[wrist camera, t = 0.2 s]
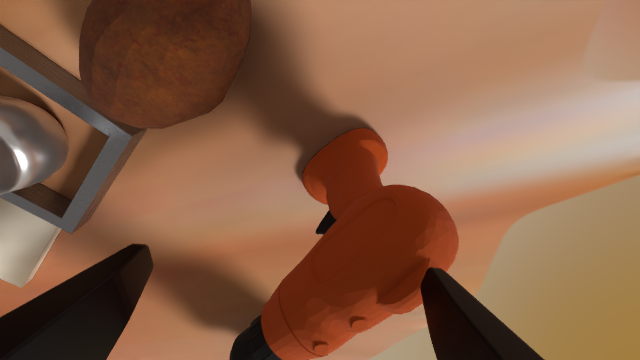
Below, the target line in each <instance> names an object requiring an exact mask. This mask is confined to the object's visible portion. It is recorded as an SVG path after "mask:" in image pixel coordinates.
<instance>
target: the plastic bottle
mask: <svg viewBox="0 0 640 360" xmlns="http://www.w3.org/2000/svg"><path fill="white" fill-rule="evenodd" d="M68 151H69V142H68V139H67V135H66V133H65V131H64V129H63V128H62V127H61V125H60V124H59V123H58V121H57V120H56V119H55V118H54V117H53V116H51V115H50V114H49V113H48V112H47V111H45V110H43V109H42V108H40V107H38V106H36V105H34V104H32V103H29V102H27V101H24V100H21V99H18V98H14V97H8V96H0V195H1V194H4V193H8V192H12V191H15V190H19V189H23V188H26V187H28V186H31V185H34V184H37V183H39V182H42V181H44V180H46V179H47V178H49V177H50V176H51V175H53V174H54V173H55V172H56V171H58V170H59V169H60V168H61V167H62V166H63V165H64V163H65V161H66V159H67V155H68Z"/></svg>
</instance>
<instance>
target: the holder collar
mask: <svg viewBox="0 0 640 360" xmlns="http://www.w3.org/2000/svg"><path fill="white" fill-rule="evenodd" d="M0 66H2V67H3V68H5V69H6V70H8V71H9V72H11V73H12V74H14V75H15V76H17V77H18V78H20V79H21V80H23V81H25V82H26V83H28V84H29V85H31V86H32V87H34V88H35V89H37V90H38V91H40V92H41V93H43V94H44V95H46V96H47V97H49V98H50V99H52V100H53V101H55V102H57V103H58V104H60V105H61V106H63V107H64V108H66V109H67V110H69V111H70V112H72V113H73V114H75V115H76V116H78V117H79V118H81V119H82V120H84V121H85V122H87V123H89V124H90V125H92V126H93V127H95V128H96V129H98V130H99V131H101V132H102V133H104V134H105V135H107V136H108V137H109V138H108V140H107V142H106V144H105V145H104V147H103V149H102V150H101V152H100V154H99V156H98V157H97V159H96V161H95V162H94V164H93V166H92V168H91V169H90V171H89V173H88V175H87V176H86V178H85V180H84V181H83V183H82V185H81V187H80V188H79V190H78V192H77V193H76V195H75V197H74V199H73V200H72V201H71V200H69V199H67V198H65V197H64V196H62V195H60V194H58V193H56V192H54V191H53V190H51V189H49V188H47V187H45V186H44V185H42V184H40V183H37V184H34V185H31V186H28V187H26V188H23V189H19V190H15V191H12V192H8V193H4V194H1V195H0V198H2V199H4V200H6V201H8V202H10V203H12V204H14V205H16V206H18V207H20V208H22V209H24V210H25V211H27V212H29V213H31V214H33V215H35V216H37V217H39V218H41V219H43V220H45V221H47V222H49V223H51V224H53V225H55V226H57V227H59V228H61V229H63V230H65V231H67V232H68V233H70V234H72V233H73V232H74V231H76V230H77V229H78V228H79V227H81V226H82V225H83V224H84V223H86V222H87V221H88V220H89V219H90V217H91V216H92V214H93V212H94V211H95V209H96V208H97V206H98V205H99V203H100V201H101V200H102V198H103V197H104V195H105V194H106V192H107V191H108V189H109V187H110V186H111V184H112V183H113V181H114V180H115V178H116V177H117V175H118V173H119V172H120V170H121V169H122V167H123V166H124V164H125V162H126V161H127V159H128V158H129V156H130V155H131V153H132V152H133V150H134V148H135V147H136V145H137V144H138V142H139V141H140V139H141V138H142V136H143V134H144V133H145V131H146V130H147V128H137V127H134V126H130V125H128V124H125V123H122V122H119V121H117V120H114V119H112V118H110V117H108V116H107V115H106V114H104V113H103V112H102V111H101V110H100V109H98V108H97V107H96V106H95V105H94V104H93V103H92V101H91V100H90V99H89V97H88V96H87V94H86V92H85V89H84V87H83V85H82V82H81V81H80V80H78V79H77V78H75V77H74V76H72V75H71V74H70V73H68V72H67V71H65V70H64V69H62V68H61V67H60V66H58V65H57V64H55V63H54V62H52V61H51V60H50V59H48V58H47V57H45V56H44V55H42V54H41V53H40V52H38V51H37V50H35V49H34V48H32V47H31V46H30V45H28V44H27V43H25V42H24V41H22V40H21V39H20V38H18V37H17V36H15V35H14V34H12V33H11V32H10V31H8V30H7V29H5V28H4V27H2V26H1V25H0Z"/></svg>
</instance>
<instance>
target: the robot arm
mask: <svg viewBox="0 0 640 360" xmlns="http://www.w3.org/2000/svg"><path fill="white" fill-rule="evenodd" d="M152 269H153V261H152V257H151V253H150V250H149V247H148V246H147V245H145V244H131V245H129V246H127V247H126V248H124V249H122V250H120V251H118V252H117V253H115V254H113V255H111V256H109V257H108V258H106V259H104V260H102V261H100V262H99V263H97V264H95V265H93V266H91V267H90V268H88V269H86V270H84V271H82V272H81V273H79V274H77V275H75V276H73V277H72V278H70V279H68V280H66V281H65V282H63V283H61V284H59V285H57V286H56V287H54V288H52V289H50V290H48V291H47V292H45V293H43V294H41V295H39V296H38V297H36V298H34V299H32V300H30V301H29V302H27V303H25V304H23V305H21V306H20V307H18V308H16V309H14V310H12V311H11V312H9V313H7V314H5V315H3V316H2V317H0V360H106V359H107V357H108V356H109V354H110V352H111V350H112V349H113V347H114V345H115V344H116V342H117V340H118V338H119V337H120V335H121V333H122V332H123V330H124V328H125V326H126V325H127V323H128V321H129V319H130V317H131V315H132V313H133V311H134V309H135V307H136V305H137V302H138V300H139V298H140V296H141V294H142V292H143V289H144V287H145V285H146V283H147V281H148V278H149V276H150V274H151V272H152ZM420 290H421V295H422V300H423V305H424V310H425V314H426V319H427V324H428V329H429V333H430V337H431V341H432V344H433V347H434V351H435V354H436V357H437V360H544V359H543V358H542V357H541V356H540V355H539V354H537V353H536V352H535V351H534V350H533V349H532V348H531V347H530V346H528V345H527V344H526V343H525V342H524V341H523V340H522V339H521V338H520V337H518V336H517V335H516V334H515V333H514V332H513V331H512V330H510V329H509V328H508V327H507V326H506V325H505V324H504V323H503V322H501V321H500V320H499V319H498V318H497V317H496V316H495V315H494V314H493V313H491V312H490V311H489V310H488V309H487V308H486V307H485V306H483V305H482V304H481V303H480V302H479V301H478V300H477V299H476V298H475V297H473V296H472V295H471V294H470V293H469V292H468V291H467V290H466V289H465V288H463V287H462V286H461V285H460V284H459V283H458V282H457V281H456V280H454V279H453V278H452V277H451V276H450V275H449V274H448V273H447V272H445V271H444V270H443V269H441V268H435V267H429V268H428V269H427V271H426V273H425V275H424V278H423V280H422V282H421V286H420ZM308 360H309V359H308Z"/></svg>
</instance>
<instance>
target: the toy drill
mask: <svg viewBox="0 0 640 360" xmlns="http://www.w3.org/2000/svg"><path fill="white" fill-rule="evenodd" d="M387 161H388V152H387V148H386V145H385V143H384V142H383V140H382V139H381V137H380V136H379V135H378V134H377V133H376V132H374V131H372V130H370V129H366V128H357V129H354V130H351V131H348V132H346V133H344V134H343V135H341V136H339V137H337V138H336V139H334V140H333V141H331V142H330V143H329V144H328V145H326V146H325V147H324V148H323V149H321V150H320V151H319V152H318V153H317V154H316V155H315V156H314V157H313V158H312V159H311V160H310V162H309V163H308V165H307V166H306V168H305V170H304V172H303V185H304V187H305V189H306V190H307V192H308V193H309V194H310V195H311V196H312V197H313V198H314V199H316V200H317V201H319V202H321V203H324V204H327V205H328V206H329V211H328V212H327V214H326V215H325V217H324V218H323V220H322V221H321V223H320V224H319V226H318V228H317V229H316V233H317V234H323V236H322V238H321V239H320V240H319V241H318V242H317V244H316V245H315V246H314V247H313V248H312V249H311V251H310V252H309V253H308V254H307V255H306V256H305V258H304V259H303V260H302V261H301V262H300V263H299V264H298V265H297V266H296V267H295V268H294V269H293V270H292V271H291V272H290V273H289V274H288V275H287V276H286V277H285V278H284V279H283V280H282V282H281V283H280V285H279V286H278V288H277V289H276V290H275V292H274V293H273V295H272V296H271V298H270V300H269V301H268V302H267V303H266V304H265V305H264V307H263V310H262V314H261V315H260V316H258V317H257V318H256V319H255V320H254V321H253V322H252V323H251V326H250V327H249V328H247V329H246V330H245V331H244V332H242V333H241V334H240V335H239V336H238V337H237V338H236V339H235V341H234V343H233V346H232V349H231V352H230V360H308V359H313V358H318V357H323V356H326V355H328V354H329V353H331V352H333V351H335V350H336V349H338V348H339V347H340V346H342V345H343V344H344V343H346V342H347V341H348V340H350V339H351V338H352V337H353V336H355V335H356V334H357V333H361V332H363V331H366V330H368V329H370V328H372V327H374V326H375V325H377V324H378V323H380V322H381V321H383V320H385V319H386V318H388V317H390V316H391V315H393V314H403V313H407V312H410V311H412V310H413V309H415V308H416V307H418V306H419V305H420V304H422V303H423V300H422V295H421V290H420V286H421V282H422V280H423V278H424V275H425V273H426V271H427V269H428V268H429V267H435V268H441V269H443V270H444V271H445V272H447V270H448V269H449V267H450V266H451V265H452V263H453V262H454V259H455V256H456V254H457V251H458V234H457V229H456V226H455V224H454V221H453V220H452V218H451V216H450V214H449V213H448V211H447V210H446V209H445V207H444V206H443V205H442V204H441V203H440V202H439V201H438V200H437V199H435V198H434V197H433V196H431V195H430V194H428V193H426V192H424V191H421V190H419V189H417V188H415V187H410V186H405V185H388V186H383V185H382V183H381V180H380V176H379V175H380V174H381V173H382V172H383V170H384V168H385V167H386V164H387Z"/></svg>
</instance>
